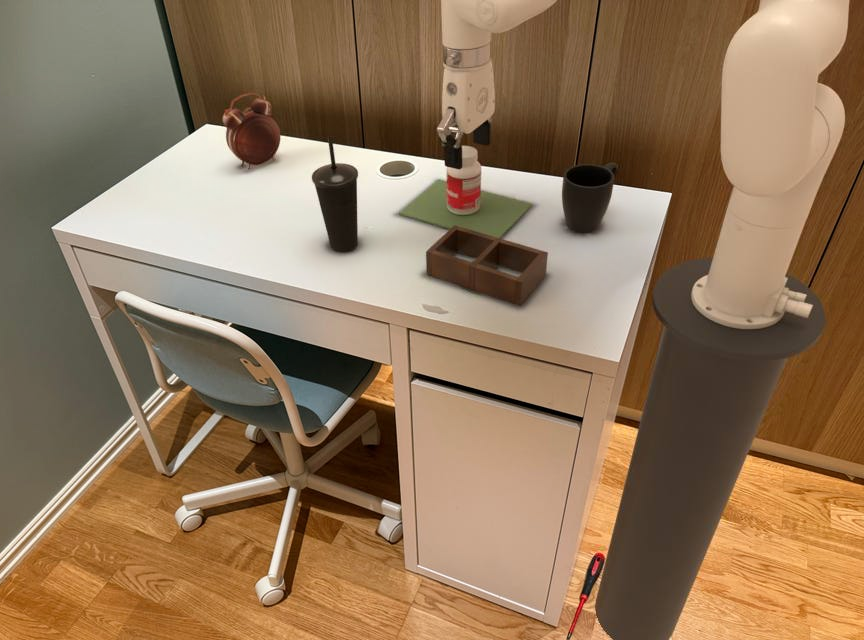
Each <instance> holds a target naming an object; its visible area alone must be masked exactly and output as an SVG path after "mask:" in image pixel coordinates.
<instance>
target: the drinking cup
mask: <svg viewBox="0 0 864 640" xmlns="http://www.w3.org/2000/svg"><path fill="white" fill-rule="evenodd" d="M327 140H328V141H327V142H328V150H329V156H330V157H329V158H330V163H329V164H325V165H323V166H320V167H318V168H316V169H315V170H314V171H313V172H312V174H311V181H312V183H313V184H314V187H315V190H316V191H315V192H316V196H317V199H318V203H319V206H320V211H321V215H322V219H323V223H324V226H325V230H326V234H327V238H328V242H329V245H330V249H331V250H332V251H334V252H337V253H348V252H351V251H353V250H355V249H356V248H357V246H358V244H359V240H358V239H359V237H358V233H359V231H358V230H359V229H358V178H359V171H358V169H357V168H356V167H355V166H354V165H351V164H348V163H342V162H340V163H339V162H338V163H337V162H336V158H335V149H334V142H333V136H328V137H327Z"/></svg>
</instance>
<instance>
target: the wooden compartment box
mask: <svg viewBox="0 0 864 640" xmlns="http://www.w3.org/2000/svg"><path fill="white" fill-rule="evenodd" d="M456 253H459V254H462V255H465V256H468V257H472V258H475V259H474V260H473V262H472V261H469V260H467V259H464V258H460V257H456V256H454V255H455V254H456ZM548 256H549V252H548V251H544V250H541V249H538V248H535V247H530V246H527V245H524V244H520V243H517V242H514V241H511V240H507V239H504V238H497V237H494V236H490V235H487V234H483V233H480V232H476V231H473V230H470V229H466V228H463V227H459V226H456V225H454V226H453V227H452V228H451V229H448V230H447V232H445V233H444V234H443V235H441V237H439V239H438V240H437V241H435V242H434V244H432V245H431V246H430V247H429V248H428V249H427V250H426V251H425V263H426V264H425V265H426V275H428V276H430V277H433V278H436V279H439V280H442V281H446V282H448V283H452V284H455V285H458V286H460V287H463V288H467V289H469V290H472V291H474V292H478V293H481V294H484V295H487V296H489V297H493V298H496V299H499V300H502V301H505V302H508V303H511V304H514V305H517V306H522V304H523V303H524V302H525V301H526V299H528V297H529V296H530V295H531V294H532V292H533V291H534V290H535V289H536V288H537V287H538V286H539V284H540V283H541V282H542V281H543V280H544V278H546V276H547V269H548V267H547V266H548V258H549V257H548ZM498 266H501V267H504V268H508V269H510V270H514V271H517V272H520V273H521V274H520V275H519V276H517V275H514V274H511V273H507V272H504V271H501V270H498V269H496V268H497V267H498Z"/></svg>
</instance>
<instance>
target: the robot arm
mask: <svg viewBox="0 0 864 640" xmlns="http://www.w3.org/2000/svg"><path fill="white" fill-rule="evenodd" d="M557 2H558V0H440V12H441V14H440V15H441V39H442V40H441V42H442V43H441V44H442V66H443V67H444V69H443V78H442V91H441V114H442V115H441V116H442V117H441V118H442V119H441V121H440V122H439V123H438V126H437V128H436V132H437V134H438V137H439V141H440V143H441V145H442V146H443V155H444V159H443V161H444V166H445V167H446V168H447V167H450V168H454V169H459V170H460V169H461V168H462V146H463V145H461V142H462V140H463V137H464V134H466V135H468V134H471V133H472V142H473V143H474V144H475V145H480V146H481V145H482V146H486V147H488V146H490V145H491V142H492V141H491V140H492V139H491V135H492V133H491V131H492V129H491V128H492V123H491V122H492V121H493V114H494V113H495V109H496V90H495V77H494V67H493V61H492V55H491V54H492V51H491V50H492V34H501V33H504V32H509V30H511V29H513V28H516V27H518V26H519V25H521V24H522V23H525V22H526V21H529V20H530V19H532V18H534V17H536V16H538V15H540V14H542V13H543V12H545V11H546V10H548V9H550V7H552V6H553V5H554V4H555V3H557ZM849 9H850V0H759V5H758V10H757V12H756V13H755V14H753V15H752V16H751V17H750V18H748V19H747V20H746V21H745V22H744V23H743V24H742V25H741V26H740V27H739V28H738V29H737V31H736V32H735V33H734V35H733V37H732V38H731V40H730V42H729V45H728V46H727V50H726V53H725V56H724V60H723V65H722V73H721V101H720V103H721V104H720V116H721V117H720V158H721V164H722V168H723V171H724V174H725V176H726V178H727V179H728V181H729V182H730V183H731V185H732V186H733V188H732V191H731V194H730V197H729V202H728V203H727V208H726V210H725V211H726V212H725V215H724V219H723V221H722V225H721V229H720V232H719V236H718V240H717V242H716V245H715V246H716V247H715V251H714V253H713V256H712V257H713V260H712V264H711V267H710V271H709V274H708V275H707V276H704V277H702V278H701V279H699V280H698V281H697V282H696V283H695V284H694V286H693V289H692V293H691V300H692V302H693V305H694V306H695V308H696V309H697V310H698V311H699V312H700V313H701V314H702V315H704V316H705V317H707V318H708V319H710V320H712V321H714V322H716V323H718V324H721V325H724V326H728V327H732V328H737V329H761V328H765V327H769V326H771V325H773V324H775V323H777V322H778V321H779V320H780V319H781V318H782V317H783V315H784V312H785V311H786V312H789V313H793V314H794V315H798V316H801V317H805V318H808V316H809V314H810V311H811V309H812V306H813V305H811V304H807V303H804V300H805V298H806V294H802V293H798V292H793V291H789V288H786V287H785V285H786V282H787V279H788V278H787V277H785V275H786V273H787V272H788V270H789V267H790V265H791V262H792V259H793V256H794V254H795V251H796V249H797V245H798V243H799V240H800V238H801V235H802V232H803V230H804V227H805V224H806V221H807V220H808V217H809V215H810V212H811V209H812V208H813V207H812V206H813V204H814V201H815V198H816V197H817V193H818V192H819V189H820V187H821V184H822V182H823V179H824V177H825V175H826V173H827V170H828V168H829V166H830V164H831V162H832V161H833V160H832V159H834V156H835V153H836V151H837V149H838V146H839V144H840V141H841V139H842V136H843V133H844V128H845V123H846V111H845V107H844V104H843V101H842V99H841V97H840V96H839V94H838V93H836V91H835V90H834V89H832V88H831V87H830V86H828V85H825V84H823V83H820V82H818V80H819V75H820V74H821V73H822V72H823V71H824V70H825V69H826V68H827V67H828V66H829V65H830V64H831V63H832V62H833V61H834V60H835V59H836V58H837V56H838V55H839V54H840V52H841V50H842V49H843V46H844V44H845V42H846V39H847V35H848V29H849V28H848V27H849V26H848V25H849ZM456 125H457V126H456ZM452 133H456V135H455V137H454V136H453V135H452Z"/></svg>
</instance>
